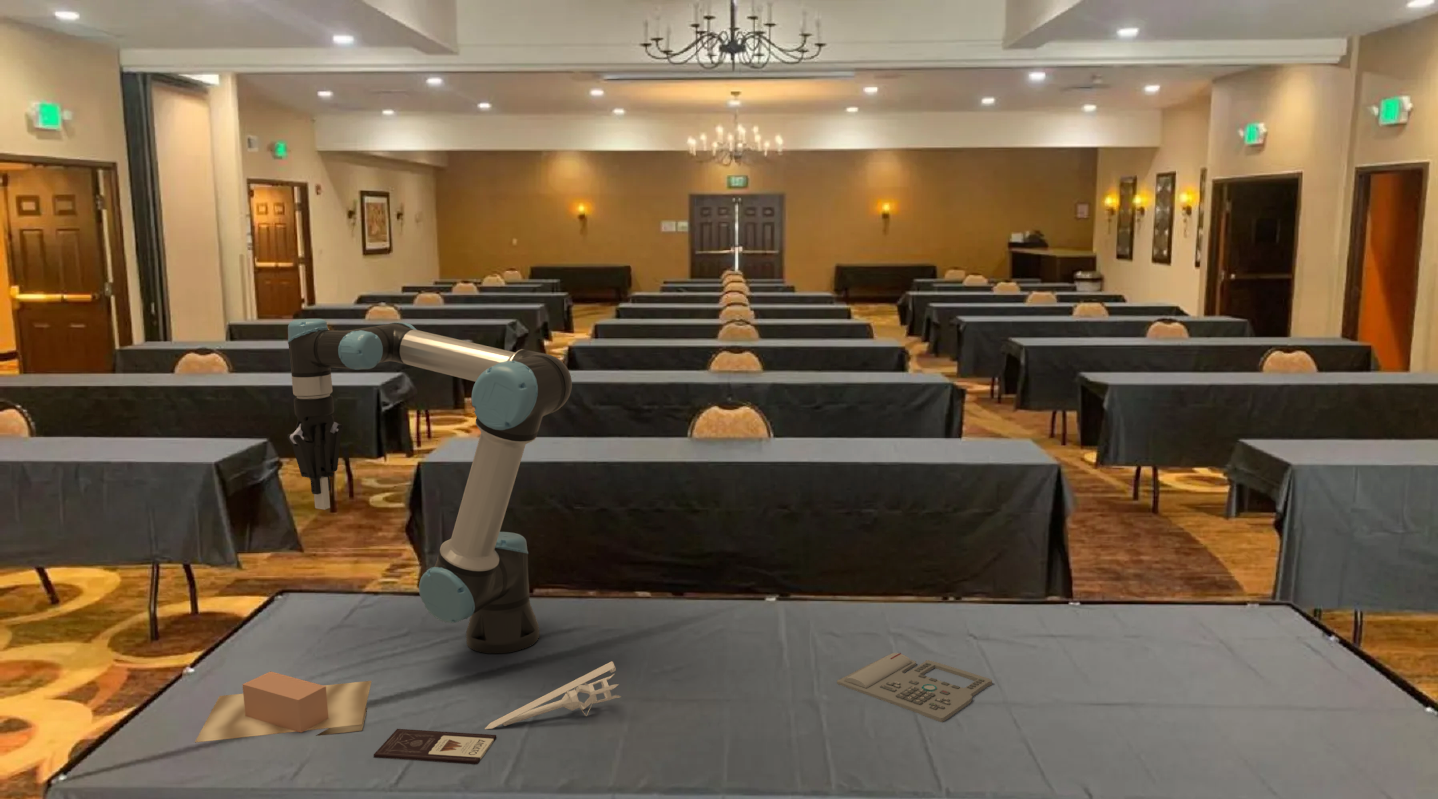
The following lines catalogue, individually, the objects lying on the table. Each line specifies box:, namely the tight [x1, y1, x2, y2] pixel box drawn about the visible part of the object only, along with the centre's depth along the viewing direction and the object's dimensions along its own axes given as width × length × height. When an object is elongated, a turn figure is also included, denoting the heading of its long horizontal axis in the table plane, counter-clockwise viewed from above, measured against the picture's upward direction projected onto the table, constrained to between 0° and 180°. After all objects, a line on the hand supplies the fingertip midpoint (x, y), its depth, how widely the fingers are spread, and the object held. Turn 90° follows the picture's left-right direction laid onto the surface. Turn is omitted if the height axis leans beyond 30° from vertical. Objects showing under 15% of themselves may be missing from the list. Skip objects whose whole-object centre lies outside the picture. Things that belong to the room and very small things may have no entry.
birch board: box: [194, 680, 373, 744], centre depth 192 cm, size 27×18×1 cm, turn 103°
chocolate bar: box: [373, 728, 497, 765], centre depth 180 cm, size 9×1×18 cm
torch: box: [484, 661, 623, 730], centre depth 190 cm, size 6×9×25 cm
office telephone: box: [836, 652, 993, 723], centre depth 202 cm, size 23×3×20 cm
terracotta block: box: [241, 671, 328, 733], centre depth 188 cm, size 6×6×14 cm
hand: (322, 507), depth 220 cm, fingers closed
